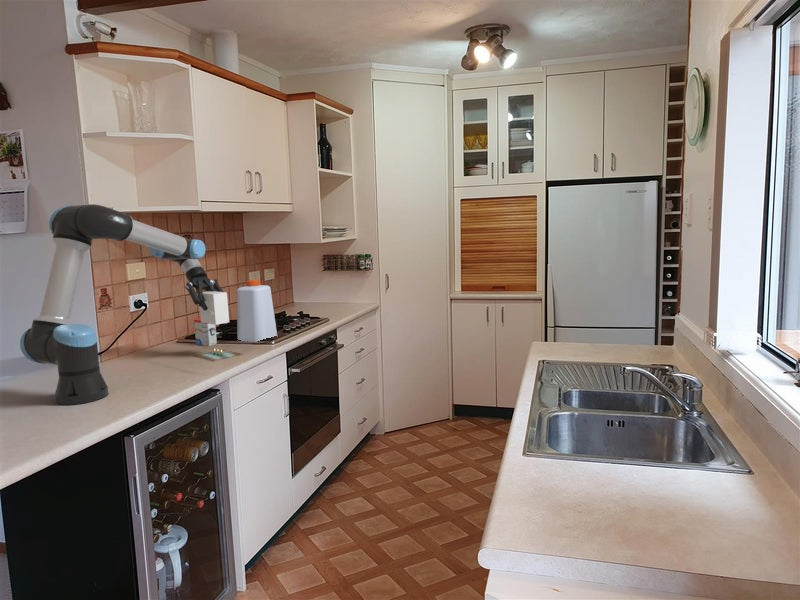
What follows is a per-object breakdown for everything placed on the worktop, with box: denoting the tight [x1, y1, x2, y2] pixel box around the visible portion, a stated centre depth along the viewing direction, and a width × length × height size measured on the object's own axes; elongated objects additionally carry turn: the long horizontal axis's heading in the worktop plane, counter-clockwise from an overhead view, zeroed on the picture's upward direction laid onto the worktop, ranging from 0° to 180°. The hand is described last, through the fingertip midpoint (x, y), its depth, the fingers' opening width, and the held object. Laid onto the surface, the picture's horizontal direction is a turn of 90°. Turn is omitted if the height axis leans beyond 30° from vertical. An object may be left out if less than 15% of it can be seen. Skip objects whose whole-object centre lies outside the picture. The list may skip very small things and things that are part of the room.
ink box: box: [193, 317, 218, 347], centre depth 266 cm, size 8×5×15 cm, turn 62°
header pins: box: [212, 347, 223, 356], centre depth 238 cm, size 1×6×2 cm, turn 49°
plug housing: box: [199, 291, 230, 325], centre depth 236 cm, size 6×11×12 cm, turn 49°
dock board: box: [192, 348, 244, 362], centre depth 239 cm, size 14×16×1 cm
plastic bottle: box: [236, 279, 278, 342], centre depth 267 cm, size 15×15×28 cm
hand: (219, 314), depth 234 cm, fingers closed on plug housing, 6 cm apart
